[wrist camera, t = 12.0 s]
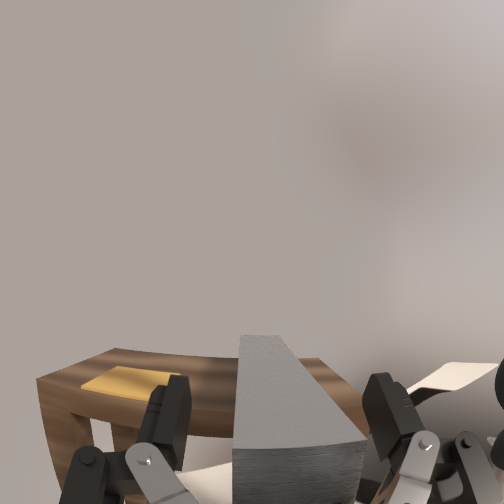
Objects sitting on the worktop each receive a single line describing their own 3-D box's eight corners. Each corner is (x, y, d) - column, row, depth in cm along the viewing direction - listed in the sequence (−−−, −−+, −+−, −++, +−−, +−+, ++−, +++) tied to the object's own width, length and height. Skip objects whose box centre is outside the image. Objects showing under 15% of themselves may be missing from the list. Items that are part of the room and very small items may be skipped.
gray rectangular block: (352, 507, 7) (367, 439, 7) (232, 516, 7) (232, 448, 7) (277, 362, 31) (278, 335, 31) (239, 362, 30) (240, 335, 31)
